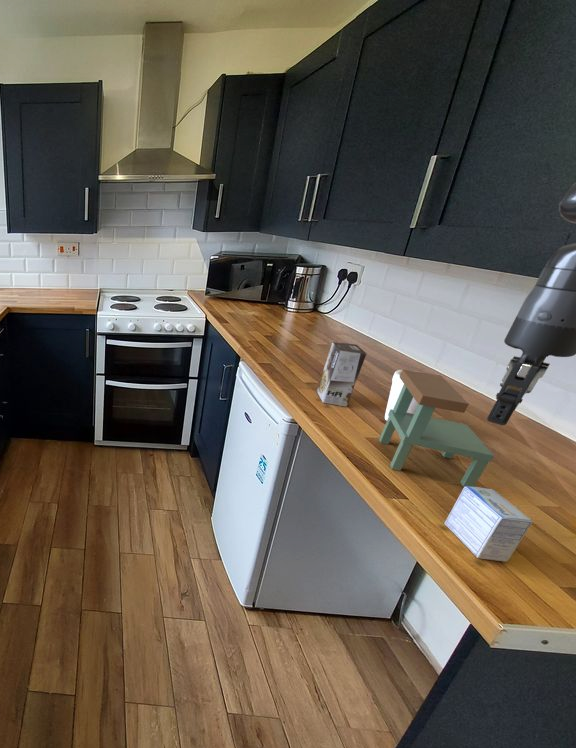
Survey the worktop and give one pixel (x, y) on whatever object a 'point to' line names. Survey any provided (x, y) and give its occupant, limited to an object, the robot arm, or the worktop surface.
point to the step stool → (433, 424)
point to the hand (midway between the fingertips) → (500, 415)
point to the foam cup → (394, 395)
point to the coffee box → (340, 373)
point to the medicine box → (487, 523)
